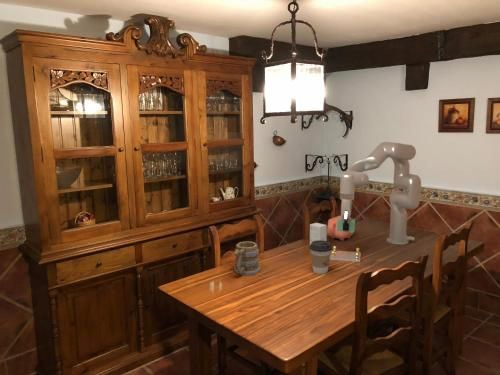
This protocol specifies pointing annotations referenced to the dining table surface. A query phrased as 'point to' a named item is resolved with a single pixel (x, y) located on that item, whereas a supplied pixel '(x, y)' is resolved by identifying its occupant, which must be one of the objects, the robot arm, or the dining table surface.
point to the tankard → (247, 258)
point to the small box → (318, 232)
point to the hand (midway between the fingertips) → (346, 228)
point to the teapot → (333, 230)
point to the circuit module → (351, 225)
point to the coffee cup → (320, 256)
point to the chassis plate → (345, 255)
